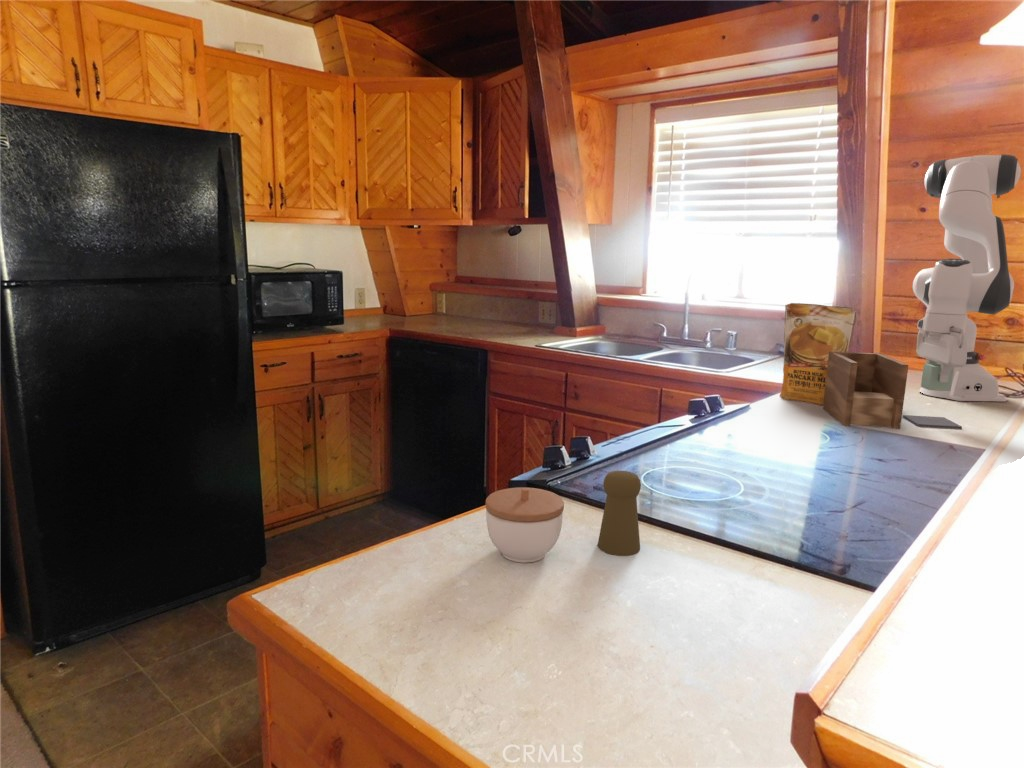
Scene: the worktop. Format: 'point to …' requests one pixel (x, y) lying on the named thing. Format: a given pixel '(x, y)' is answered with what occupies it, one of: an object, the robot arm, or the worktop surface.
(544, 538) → the lidded jar
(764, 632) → the worktop surface
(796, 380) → the pancake mix bag
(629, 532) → the cork
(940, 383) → the block
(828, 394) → the bin
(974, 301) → the robot arm
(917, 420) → the mat
